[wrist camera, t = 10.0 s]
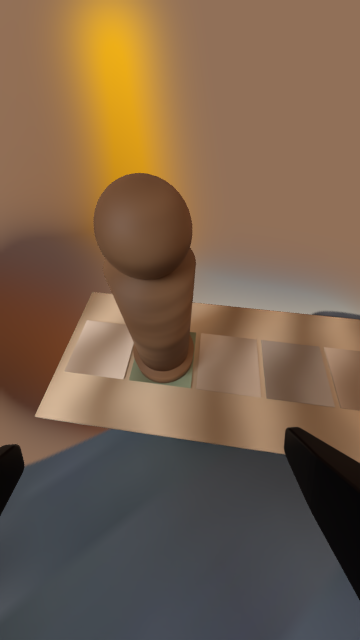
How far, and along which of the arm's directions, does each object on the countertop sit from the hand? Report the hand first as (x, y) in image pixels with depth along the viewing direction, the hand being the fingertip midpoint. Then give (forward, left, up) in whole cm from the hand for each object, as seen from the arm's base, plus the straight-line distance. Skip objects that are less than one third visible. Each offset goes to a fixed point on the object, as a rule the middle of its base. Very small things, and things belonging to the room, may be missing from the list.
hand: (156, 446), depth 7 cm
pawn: (+5, -4, -7) cm, 9 cm away
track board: (+1, -7, -8) cm, 11 cm away
